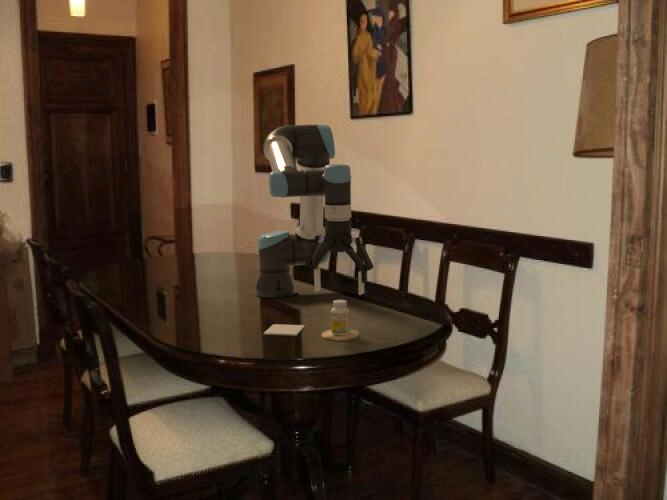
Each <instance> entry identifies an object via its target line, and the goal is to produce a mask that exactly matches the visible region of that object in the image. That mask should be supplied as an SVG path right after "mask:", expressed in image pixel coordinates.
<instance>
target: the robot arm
mask: <svg viewBox="0 0 667 500" xmlns="http://www.w3.org/2000/svg"><path fill="white" fill-rule="evenodd" d="M335 146H336V145H335V140H334V135H333V131H332V128H331V127H330V126H329V125H327V124H294V125H293V124H287V125H282V126H279V127H277V128H275V129H274V130H272V131H271V132H269V134H267V136H266V137H265V139H264V142H263V145H262V147H263V149H262V150H263V154H264V157H265V158H266V159H267V160H268V161H269V164H270V168H271V172H269V174H268V190H269V191H268V192H269V195H270V196H271V197H273V198H283V199H284V198H289V197H290V198H291V197H292V198H293V197H296V198H297V197H300V198H299V204H300V205H299V225H298V226H297V227H296V229H295V234H294V233H293V234H290V232H289V230H286V229H285V230H276V231H275V230H274V231H269V232H266V233H264V234H261V235H260V236H258V239H257V245H258V246H257V250H258V277H257V282H256V284H255V289H254V294H255V296H257V297H259V298H260V297H261V298H268V299H269V298H270V299H271V298H273V299H274V298H287V297H290V296H294V295H295V294H296V285H295V282H294V280H293V277H292V274H291V266H302V265H303V266H305V267H307V268H310V270H311V279H312V280H314V281H313V282H314V292H319V291H321V290H322V289H321V267H319V265H320V264H321V265H323V264H325V263H326V262H328V261H329V257H330V255H331V252H333V253H335V252H338V253H344V252H345V254H347V255H348V256H349V258H350V259H351V261H352V262H353V263H354V264H355V265H356V266H357V268H358V269H359V270H360V271H358V274H357V275H358V276H357V278H358V282H357V283H358V285H357V286H358V295H359V296H361V295H363V294H365V284H366V283H367V282H368V271H371V270H372V269H374V264H373V261H372V260H371V258H370V255H369V253H368V252H367V249H366V247H365V245H364V240H363V237H362V236H360V235H359V236H357V237H353V236H352V220H351V219H352V191H351V190H352V189H351V187H352V175H351V166H350V165H348V164H340V163H338V164H337V163H335V164H331V162H330V161H331V160H333V159H335V157H336V148H335ZM330 159H331V160H330ZM295 160H296V161H295ZM296 164H297V165H298V166H299V168H300V170H298V168H297V165H296ZM324 218H325V219H326V220H325V221H324ZM352 243H353V244H354V245H355V246H356V249H357V251H358V253H359V255H360V256H359V255H358V254H357V253H356V251H355V249H354V248H353V246H352V245H351V244H352ZM360 257H361V258H360Z"/></svg>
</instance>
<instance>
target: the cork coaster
mask: <svg viewBox="0 0 667 500" xmlns="http://www.w3.org/2000/svg"><path fill="white" fill-rule="evenodd" d="M359 337H360V332H359V331H358V330H356V329H351V328H349V334H347V335H341V336H338V335H333V334H332V333H331V329H327V330H324V331H322V332H321V338H322V339H324V340H327V341H334V342H346V341H351V340H352V341H353V340H355V339H356V340H357V339H358V338H359Z"/></svg>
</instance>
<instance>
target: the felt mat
mask: <svg viewBox="0 0 667 500" xmlns="http://www.w3.org/2000/svg"><path fill="white" fill-rule="evenodd" d="M305 327H306V326H305V325H304V324H277V323H276V324H275V323H274V324H272V325H270V326H269V328H268V329H267V330H265V331H264V332H263V336H264V335H267V336H268V335H269V336H293V337H296V336H298V335H299V334H300V333H301V331H303V329H304V328H305Z"/></svg>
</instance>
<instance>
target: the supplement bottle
mask: <svg viewBox="0 0 667 500" xmlns="http://www.w3.org/2000/svg"><path fill="white" fill-rule="evenodd" d="M332 306H333V307H332V308H331V309H330V323H331V324H330V325H331V326H330V330H331V333H332V334H333V335H338V336H341V335H347V334H349V329H350V309H349V308H348V307H347V306H348V301H347V300H345V299H335V300H333V301H332Z"/></svg>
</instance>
